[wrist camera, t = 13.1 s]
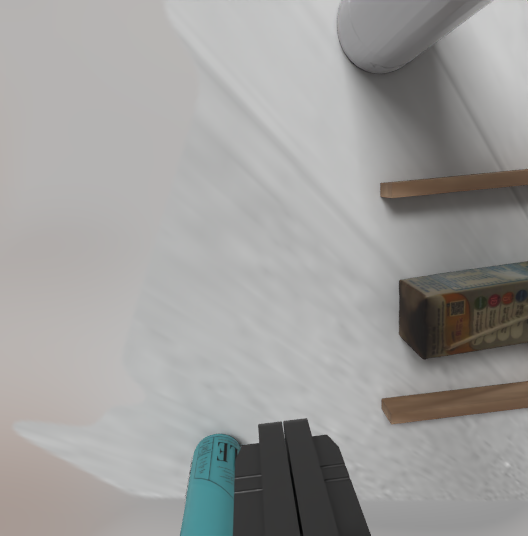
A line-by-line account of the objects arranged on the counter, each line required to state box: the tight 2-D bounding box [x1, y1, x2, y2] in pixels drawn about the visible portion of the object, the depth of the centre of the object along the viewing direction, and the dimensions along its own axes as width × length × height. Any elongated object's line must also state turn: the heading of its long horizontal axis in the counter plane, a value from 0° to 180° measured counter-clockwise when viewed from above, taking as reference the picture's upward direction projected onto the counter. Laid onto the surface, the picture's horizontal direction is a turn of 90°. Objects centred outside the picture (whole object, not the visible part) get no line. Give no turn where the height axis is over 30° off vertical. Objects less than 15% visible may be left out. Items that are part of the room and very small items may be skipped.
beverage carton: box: [399, 261, 528, 359], centre depth 38 cm, size 8×19×7 cm, turn 97°
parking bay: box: [380, 169, 528, 424], centre depth 40 cm, size 29×22×3 cm
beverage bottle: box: [180, 434, 241, 536], centre depth 35 cm, size 6×7×20 cm
